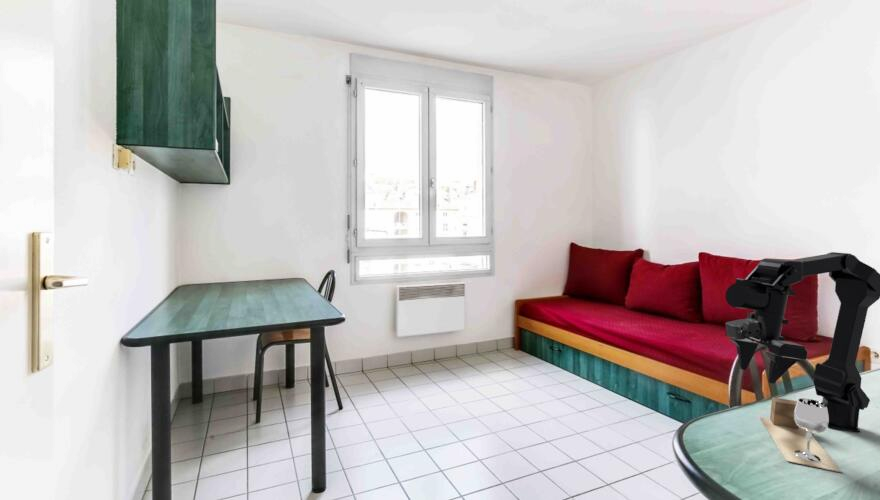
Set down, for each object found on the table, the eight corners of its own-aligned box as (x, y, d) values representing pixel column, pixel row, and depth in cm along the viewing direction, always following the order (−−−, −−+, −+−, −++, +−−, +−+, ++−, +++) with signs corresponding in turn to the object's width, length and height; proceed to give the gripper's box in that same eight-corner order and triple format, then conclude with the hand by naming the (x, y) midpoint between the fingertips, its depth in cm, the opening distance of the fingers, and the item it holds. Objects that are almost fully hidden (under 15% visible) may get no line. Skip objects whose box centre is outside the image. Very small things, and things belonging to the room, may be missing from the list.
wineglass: (831, 465, 90) (837, 410, 89) (800, 461, 92) (805, 407, 91) (813, 451, 96) (818, 398, 95) (784, 447, 97) (789, 395, 96)
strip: (803, 425, 108) (805, 401, 108) (841, 472, 88) (844, 443, 88) (759, 418, 112) (761, 394, 112) (787, 461, 92) (789, 433, 91)
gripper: (710, 300, 111) (699, 359, 112) (765, 315, 93) (751, 385, 94) (753, 306, 111) (742, 365, 112) (816, 322, 93) (802, 393, 94)
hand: (756, 376), depth 103 cm, fingers open, 9 cm apart
